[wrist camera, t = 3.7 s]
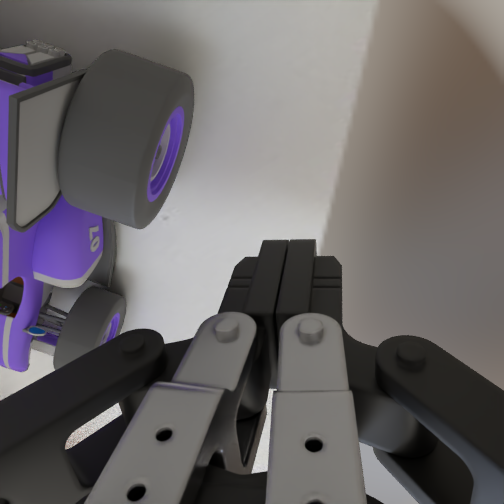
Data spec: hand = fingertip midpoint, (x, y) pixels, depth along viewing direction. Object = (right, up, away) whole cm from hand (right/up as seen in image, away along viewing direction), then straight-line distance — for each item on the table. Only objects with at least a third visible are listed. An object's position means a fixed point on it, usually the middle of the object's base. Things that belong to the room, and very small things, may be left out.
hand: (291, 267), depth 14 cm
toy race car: (-9, +2, +5) cm, 11 cm away
